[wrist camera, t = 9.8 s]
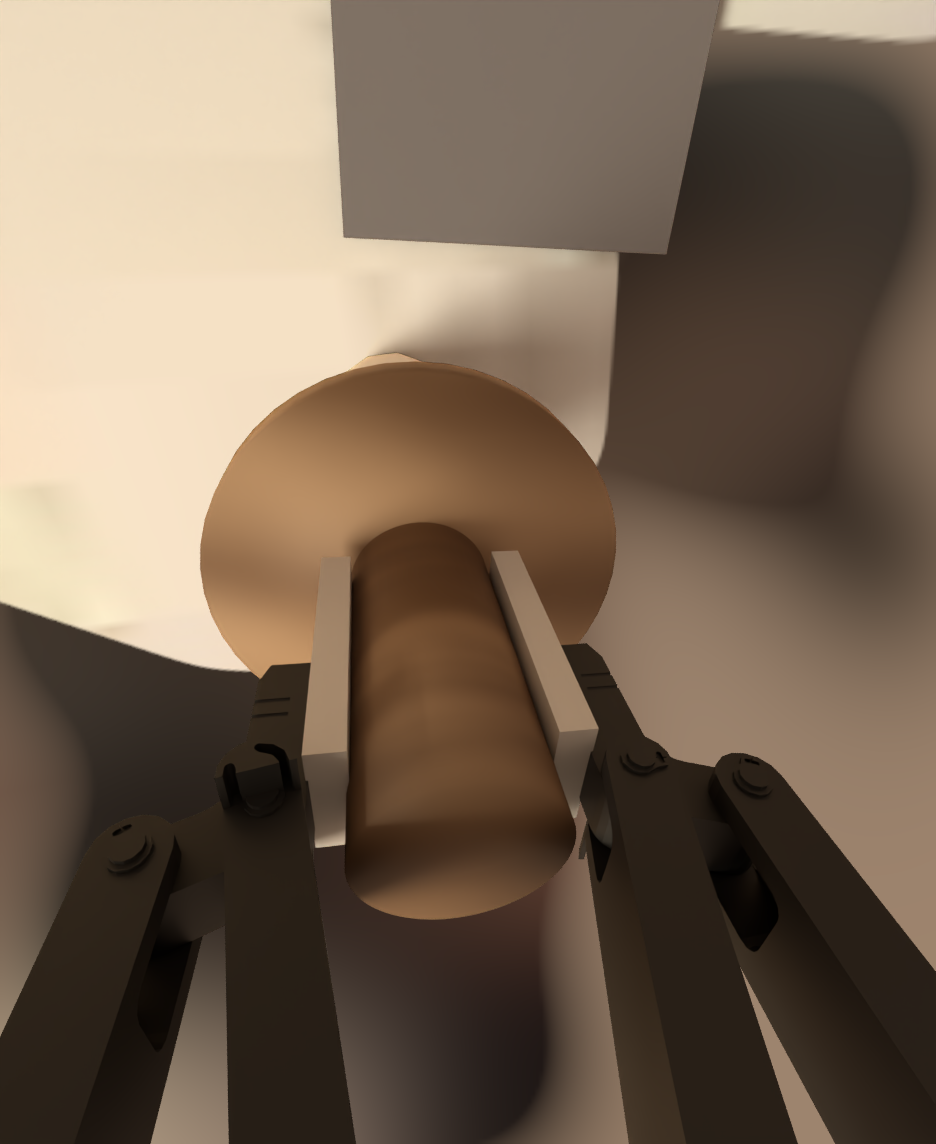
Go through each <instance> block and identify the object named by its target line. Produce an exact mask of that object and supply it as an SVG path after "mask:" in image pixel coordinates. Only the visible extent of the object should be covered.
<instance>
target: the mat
mask: <svg viewBox="0 0 936 1144" xmlns="http://www.w3.org/2000/svg"><path fill="white" fill-rule="evenodd" d="M719 2H720V0H331V14H332V33H333V51H334V69H335V88H336V106H337V124H338V143H339V161H340V179H341V198H342V216H343V234H344V237H345V238H364V239H383V240H402V241H421V242H440V243H459V244H477V245H496V246H515V247H534V248H553V249H572V250H591V251H609V252H629V253H647V254H667V248H668V244H669V239H670V235H671V230H672V225H673V220H674V216H675V211H676V206H677V201H678V196H679V192H680V187H681V182H682V178H683V173H684V168H685V163H686V159H687V154H688V149H689V144H690V140H691V135H692V130H693V125H694V121H695V116H696V111H697V106H698V102H699V97H700V92H701V87H702V82H703V78H704V73H705V68H706V63H707V58H708V54H709V49H710V44H711V40H712V34H713V30H714V25H715V21H716V16H717V11H718V6H719Z"/></svg>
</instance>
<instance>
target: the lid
mask: <svg viewBox="0 0 936 1144" xmlns="http://www.w3.org/2000/svg"><path fill="white" fill-rule="evenodd" d="M492 551H518V552H519V554H520V556H521V559H522V561H523V563H524V565H525V567H526V570H527V572H528V574H529V576H530V578H531V581H532V583H533V585H534V587H535V589H536V592H537V594H538V596H539V598H540V600H541V603H542V605H543V607H544V609H545V611H546V614H547V616H548V618H549V620H550V622H551V625H552V627H553V629H554V631H555V633H556V636H557V638H558V640H559V642H560V644H561V645H570V644H578V643H579V641H580V640H581V639H582V637H583V636H584V635H585V634H586V632H587V631H588V629H589V627H590V626H591V624H592V622H593V621H594V619H595V617H596V616H597V614H598V612H599V610H600V608H601V605H602V603H603V601H604V598H605V596H606V594H607V591H608V587H609V584H610V580H611V577H612V573H613V567H614V560H615V553H616V528H615V522H614V515H613V509H612V505H611V501H610V499H609V495H608V492H607V489H606V486H605V483H604V482H603V479H602V478H601V475H600V474H599V472H598V469H597V467H596V465H595V463H594V462H593V461H592V459H591V458H590V456H589V455H588V454H587V452H586V451H585V449H584V448H583V447H582V445H581V444H580V442H579V441H578V440H577V439H576V438H575V437H574V436H573V435H572V434H571V433H570V431H569V430H568V429H567V428H566V427H565V426H564V425H563V424H562V423H561V422H560V421H559V420H558V419H557V418H556V417H555V416H554V415H553V414H552V413H551V412H550V411H549V410H548V409H547V408H546V407H544V406H543V405H542V404H540V403H539V402H538V401H536V400H535V399H534V398H532V397H531V396H530V395H528V394H527V393H525V392H523V391H522V390H520V389H518V388H516V387H514V386H512V385H511V384H509V383H507V382H505V381H503V380H501V379H498V378H495V377H493V376H490V375H487V374H485V373H482V372H479V371H477V370H473V369H468V368H464V367H459V366H455V365H450V364H443V363H431V362H419V361H413V362H395V363H383V364H378V365H373V366H367V367H362V368H357V369H353V370H350V371H347V372H344V373H342V374H339V375H336V376H333V377H330V378H327V379H324V380H322V381H320V382H319V383H317V384H315V385H313V386H311V387H309V388H307V389H305V390H303V391H301V392H299V393H297V394H296V395H294V396H293V397H291V398H290V399H289V400H287V401H286V402H284V403H283V404H281V405H280V406H279V407H277V408H276V409H274V410H273V411H272V412H271V413H270V414H269V415H268V416H267V417H266V418H265V419H264V420H263V421H262V422H261V423H259V424H258V425H257V426H256V427H255V428H254V429H253V430H252V432H251V433H250V434H249V436H248V437H247V438H246V439H245V441H244V442H243V443H242V445H241V446H240V447H239V448H238V450H237V451H236V453H235V454H234V456H233V458H232V460H231V462H230V463H229V465H228V467H227V469H226V471H225V473H224V474H223V476H222V478H221V480H220V482H219V485H218V487H217V489H216V491H215V493H214V495H213V498H212V501H211V504H210V506H209V509H208V512H207V515H206V518H205V522H204V528H203V533H202V539H201V549H200V570H201V576H202V583H203V589H204V594H205V597H206V600H207V603H208V606H209V609H210V612H211V615H212V617H213V619H214V621H215V623H216V625H217V627H218V629H219V631H220V633H221V635H222V637H223V638H224V639H225V641H226V642H227V644H228V645H229V646H230V648H231V649H232V650H233V652H234V653H235V655H236V656H237V657H238V658H239V659H240V660H241V661H242V662H243V663H244V664H245V665H246V666H247V667H248V668H249V670H250V671H251V672H253V673H254V674H255V675H256V676H258V677H259V678H260V679H261V678H262V676H263V675H264V674H265V673H266V671H267V670H268V669H269V667H270V666H271V665H282V664H297V663H311V657H312V647H313V637H314V628H315V618H316V608H317V598H318V588H319V578H320V568H321V558H326V557H351V572H352V632H351V699H350V767H349V784H348V788H347V793H346V827H345V875H346V879H347V882H348V884H349V886H350V888H351V889H352V891H353V892H354V893H355V894H356V896H358V897H359V898H360V899H361V900H362V901H364V902H365V903H367V904H368V905H370V906H372V907H373V908H376V909H378V910H380V911H383V912H386V913H389V914H392V915H396V916H401V917H407V918H416V919H448V918H457V917H463V916H469V915H474V914H478V913H482V912H486V911H490V910H493V909H496V908H499V907H502V906H504V905H507V904H509V903H512V902H514V901H516V900H518V899H520V898H522V897H524V896H526V895H528V894H529V893H531V892H533V891H535V890H536V889H538V888H539V887H540V886H542V885H543V884H545V883H546V882H547V881H548V880H549V879H551V878H552V877H553V876H554V875H555V874H556V873H557V872H558V871H559V870H560V869H561V868H562V866H563V865H564V864H565V862H566V861H567V860H568V858H569V856H570V854H571V853H572V850H573V847H574V845H575V839H576V826H575V823H574V819H573V816H572V814H571V811H570V808H569V805H568V802H567V799H566V796H565V793H564V790H563V787H562V785H561V782H560V779H559V776H558V773H557V770H556V767H555V764H554V761H553V759H552V756H551V753H550V750H549V747H548V744H547V741H546V738H545V735H544V732H543V730H542V727H541V724H540V721H539V718H538V715H537V712H536V709H535V706H534V704H533V701H532V698H531V695H530V692H529V689H528V686H527V683H526V680H525V677H524V675H523V672H522V669H521V666H520V663H519V660H518V657H517V654H516V651H515V649H514V646H513V643H512V640H511V637H510V634H509V631H508V628H507V625H506V623H505V620H504V617H503V614H502V611H501V608H500V605H499V602H498V599H497V596H496V594H495V591H494V588H493V585H492V582H491V579H490V576H489V575H490V563H491V552H492Z"/></svg>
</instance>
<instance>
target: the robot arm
mask: <svg viewBox="0 0 936 1144" xmlns="http://www.w3.org/2000/svg"><path fill="white" fill-rule="evenodd" d="M489 576H490V579H491V582H492V585H493V588H494V591H495V594H496V596H497V599H498V602H499V605H500V608H501V611H502V614H503V617H504V620H505V623H506V625H507V628H508V631H509V634H510V637H511V640H512V643H513V646H514V649H515V651H516V654H517V657H518V660H519V663H520V666H521V669H522V672H523V675H524V677H525V680H526V683H527V686H528V689H529V692H530V695H531V698H532V701H533V704H534V706H535V709H536V712H537V715H538V718H539V721H540V724H541V727H542V730H543V732H544V735H545V738H546V741H547V744H548V747H549V750H550V753H551V756H552V759H553V761H554V764H555V767H556V770H557V773H558V776H559V779H560V782H561V785H562V787H563V790H564V793H565V796H566V799H567V802H568V805H569V808H570V811H571V814H572V816H573V818H576V816H577V812H578V808H579V804H580V801H581V803H582V807H583V809H584V812H585V815H586V817H587V822H586V826H585V830H584V833H583V837H582V841H581V844H580V848H579V859H584V857H585V853H586V852H587V859H588V866H589V873H590V880H591V886H592V893H593V900H594V907H595V914H596V921H597V928H598V934H599V941H600V948H601V955H602V961H603V968H604V976H605V982H606V989H607V996H608V1003H609V1010H610V1017H611V1023H612V1030H613V1037H614V1044H615V1051H616V1057H617V1064H618V1071H619V1078H620V1085H621V1092H622V1099H623V1106H624V1112H625V1119H626V1125H627V1133H628V1140H629V1144H798V1143H797V1140H796V1137H795V1134H794V1131H793V1127H792V1124H791V1121H790V1118H789V1115H788V1112H787V1109H786V1106H785V1103H784V1100H783V1097H782V1094H781V1091H780V1088H779V1085H778V1082H777V1078H776V1075H775V1072H774V1069H773V1066H772V1063H771V1060H770V1057H769V1054H768V1051H767V1048H766V1045H765V1042H764V1039H763V1036H762V1033H761V1030H760V1026H759V1024H758V1020H757V1017H756V1014H755V1011H754V1008H753V1005H752V1002H751V999H750V996H749V993H748V990H747V987H746V984H745V980H744V978H743V974H742V971H743V973H744V975H745V977H746V978H747V980H748V982H749V984H750V986H751V988H752V990H753V991H754V993H755V995H756V997H757V999H758V1001H759V1003H760V1004H761V1006H762V1008H763V1010H764V1012H765V1013H766V1015H767V1017H768V1019H769V1021H770V1023H771V1025H772V1027H773V1029H774V1031H775V1032H776V1034H777V1036H778V1038H779V1040H780V1042H781V1043H782V1045H783V1047H784V1049H785V1051H786V1053H787V1055H788V1056H789V1058H790V1060H791V1062H792V1064H793V1066H794V1068H795V1070H796V1071H797V1073H798V1075H799V1077H800V1079H801V1081H802V1083H803V1085H804V1086H805V1088H806V1090H807V1092H808V1094H809V1096H810V1098H811V1099H812V1101H813V1103H814V1105H815V1107H816V1109H817V1111H818V1112H819V1114H820V1116H821V1118H822V1120H823V1122H824V1123H825V1125H826V1127H827V1129H828V1131H829V1133H830V1135H831V1136H832V1138H833V1140H834V1142H835V1144H936V971H935V970H934V969H933V967H932V966H931V965H930V964H929V962H928V961H927V960H926V959H925V957H924V956H923V955H922V953H921V952H920V951H919V950H918V948H917V947H916V946H915V945H914V943H913V942H912V941H911V940H910V938H909V937H908V936H907V934H906V933H905V932H904V931H903V929H902V928H901V927H900V925H899V924H898V923H897V922H896V921H895V919H894V918H893V917H892V915H891V914H890V913H889V911H888V910H887V909H886V908H885V906H884V905H883V904H882V903H881V901H880V900H879V899H878V898H877V896H876V895H875V894H874V892H873V891H872V890H871V889H870V887H869V886H868V885H867V884H866V882H865V881H864V880H863V879H862V877H861V876H860V875H859V873H858V872H857V871H856V869H855V868H854V867H853V866H852V864H851V863H850V862H849V861H848V859H847V858H846V857H845V856H844V854H843V853H842V852H841V850H840V849H839V848H838V847H837V845H836V844H835V843H834V842H833V840H832V839H831V838H830V836H829V835H828V834H827V833H826V831H825V830H824V829H823V828H822V826H821V825H820V824H819V822H818V821H817V820H816V819H815V817H814V816H813V815H812V814H811V812H810V811H809V810H808V808H807V807H806V806H805V805H804V803H803V802H802V801H801V800H800V798H799V797H798V796H797V795H796V793H795V792H794V791H793V789H792V788H791V787H790V786H789V784H788V783H787V782H786V780H785V779H784V778H783V777H782V776H781V775H780V774H779V773H778V772H777V771H776V770H775V769H774V768H773V767H772V766H771V765H770V764H768V763H766V762H764V761H763V760H761V759H759V758H758V757H754V756H751V755H748V754H744V753H731V754H728V755H725V756H722V757H721V759H720V760H719V761H718V763H717V764H716V766H715V767H710V766H705V765H699V764H694V763H688V762H683V761H680V760H676V759H673V758H671V757H670V756H669V754H668V752H667V751H666V750H665V749H663V748H662V747H661V746H660V745H659V744H658V743H656V742H654V741H652V740H651V739H649V738H647V737H645V736H644V735H643V733H642V731H641V729H640V727H639V725H638V724H637V722H636V720H635V718H634V716H633V714H632V712H631V710H630V709H629V707H628V705H627V703H626V701H625V699H624V697H623V696H622V694H621V692H620V690H619V688H617V684H616V682H615V681H614V679H613V677H612V675H610V671H609V669H608V667H607V666H606V664H605V662H604V660H603V658H602V656H601V655H599V654H598V653H597V652H596V651H595V650H594V649H592V648H591V647H590V646H589V645H588V644H587V643H586V644H570V645H561V644H560V642H559V640H558V638H557V636H556V633H555V631H554V629H553V627H552V625H551V622H550V620H549V618H548V616H547V614H546V611H545V609H544V607H543V605H542V603H541V600H540V598H539V596H538V594H537V592H536V589H535V587H534V585H533V583H532V581H531V578H530V576H529V574H528V572H527V570H526V567H525V565H524V563H523V561H522V559H521V556H520V554H519V552H518V551H492V552H491V563H490V575H489ZM351 632H352V572H351V557H326V558H321V568H320V578H319V588H318V598H317V608H316V618H315V628H314V637H313V647H312V657H311V663H297V664H282V665H271V666H270V667H269V669H268V670H267V671H266V673H265V674H264V675H263V676H262V678H261V679H260V680H259V682H258V686H257V691H256V696H255V704H254V705H253V711H252V719H251V720H250V725H249V730H248V734H247V739H246V742H245V743H242V744H239V745H238V746H236V747H235V748H234V749H232V750H231V751H229V752H228V753H227V754H226V755H225V756H224V757H223V759H222V760H221V762H220V763H219V764H218V766H217V769H216V773H215V778H214V779H215V783H216V786H217V790H218V793H219V797H220V800H221V801H220V802H218V803H217V804H215V805H214V806H213V807H211V808H209V809H207V810H205V811H203V812H201V813H199V814H196V815H194V816H191V817H188V818H186V819H183V820H180V821H178V822H175V823H172V824H170V823H169V822H167V821H166V820H164V819H162V818H161V817H159V816H153V815H140V816H135V817H131V818H126V819H125V820H123V821H120V822H119V823H117V824H115V825H113V826H111V827H109V828H108V829H107V830H106V831H105V832H103V833H102V834H101V835H100V836H99V837H97V838H96V839H95V840H94V842H93V844H92V845H91V846H90V848H89V850H88V851H87V852H86V854H85V856H84V858H83V860H82V862H81V864H80V866H79V869H78V871H77V873H76V875H75V877H74V879H73V881H72V883H71V886H70V888H69V890H68V892H67V894H66V896H65V899H64V901H63V903H62V905H61V907H60V909H59V912H58V914H57V916H56V918H55V920H54V922H53V924H52V927H51V929H50V931H49V933H48V935H47V937H46V939H45V942H44V944H43V946H42V948H41V950H40V952H39V955H38V957H37V959H36V961H35V963H34V965H33V967H32V970H31V972H30V974H29V976H28V978H27V980H26V982H25V985H24V987H23V989H22V991H21V993H20V995H19V998H18V1000H17V1002H16V1004H15V1006H14V1008H13V1010H12V1013H11V1015H10V1017H9V1019H8V1021H7V1023H6V1026H5V1028H4V1030H3V1032H2V1034H1V1036H0V1144H150V1143H151V1139H152V1135H153V1131H154V1128H155V1123H156V1119H157V1116H158V1111H159V1108H160V1104H161V1099H162V1096H163V1091H164V1088H165V1084H166V1080H167V1076H168V1072H169V1068H170V1064H171V1060H172V1056H173V1052H174V1048H175V1044H176V1040H177V1036H178V1032H179V1028H180V1025H181V1021H182V1017H183V1013H184V1008H185V1005H186V1000H187V997H188V993H189V989H190V985H191V981H192V977H193V973H194V969H195V965H196V961H197V957H198V953H199V949H200V945H201V941H202V937H203V936H204V935H206V934H208V933H210V932H212V931H214V930H217V929H219V928H221V927H223V926H225V945H226V946H225V950H226V1004H227V1005H226V1006H227V1063H228V1064H227V1065H228V1117H229V1119H228V1122H229V1144H356V1140H355V1134H354V1127H353V1120H352V1113H351V1107H350V1100H349V1094H348V1087H347V1080H346V1074H345V1067H344V1060H343V1054H342V1047H341V1041H340V1034H339V1028H338V1021H337V1014H336V1007H335V1001H334V994H333V988H332V981H331V975H330V968H329V961H328V954H327V948H326V941H325V935H324V928H323V921H322V915H321V909H320V901H319V895H318V888H317V881H316V876H315V868H314V862H313V852H314V851H313V850H314V840H315V845H316V848H318V847H326V846H335V845H343V844H345V827H346V793H347V788H348V784H349V767H350V699H351ZM740 967H741V968H740ZM741 969H742V971H741Z"/></svg>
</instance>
